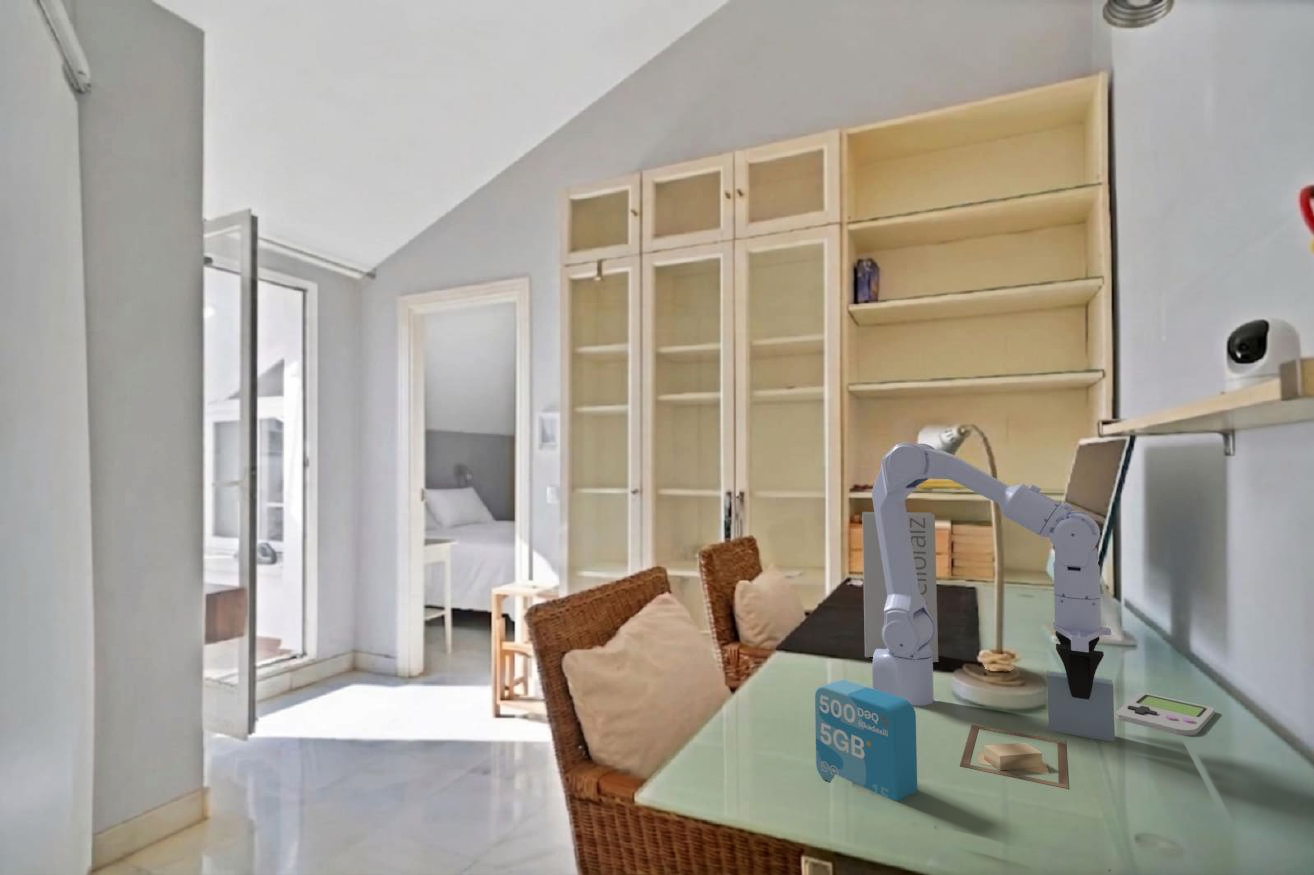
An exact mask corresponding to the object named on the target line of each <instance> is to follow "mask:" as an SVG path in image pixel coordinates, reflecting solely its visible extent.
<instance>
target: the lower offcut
mask: <svg viewBox="0 0 1314 875" xmlns="http://www.w3.org/2000/svg"><path fill="white" fill-rule="evenodd" d="M977 757H978V758H977V759H978V764H979V765H983V766H991V767H994V766H993V765H992V764H990V763H989V762H987V761H986V760H984V752H977ZM1047 766H1048V765H1047V763H1046V762H1044V761H1042V767H1038V768H1025V769H1014V770H1015V771H1023V772H1030V773H1035V774H1043V775H1048V776H1049V775H1050V772H1049V769H1048V767H1047Z"/></svg>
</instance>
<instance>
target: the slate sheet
mask: <svg viewBox="0 0 1314 875" xmlns="http://www.w3.org/2000/svg"><path fill="white" fill-rule="evenodd" d="M1046 682H1047V683H1046V684H1047V711H1048V712H1047V714H1048V716H1047V718H1048V722H1047V723H1048V731H1049V732H1054V733H1060V734H1066V735H1072V736H1078V737H1083V738H1084V737H1085V738H1089V739H1095V740H1100V741H1106V742H1112V743H1115V742H1116V737H1115V736H1116V734H1115V707H1114V706H1115V704H1114V700H1115V699H1114V684H1113V680H1112V679H1110V678H1102V677H1095V676H1094V680H1093V686H1092V691H1091V695H1090V698H1089V700H1087V699H1080V698H1074V697H1072V696H1071V693H1070V689H1069V685H1068V680H1067V675H1066V672H1065V673H1064V672H1058V671H1057V672H1055V671H1049V670H1046Z"/></svg>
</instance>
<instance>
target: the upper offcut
mask: <svg viewBox="0 0 1314 875" xmlns="http://www.w3.org/2000/svg"><path fill="white" fill-rule="evenodd" d="M983 753H984V760H986V761H987V762H989V763H990V764H992V765H993V766H992V767H994V768H995V769H996V770H998V771H1010V770H1015V769H1025V768H1038V767H1042V762H1043V753H1042V752H1041V751H1040V750H1038V749H1036V748H1035V747H1032V745H1030V744H1028V743H1026V742H1016V743H1002V744H1001V743H999V744H987V745H986V744H985V745H983Z"/></svg>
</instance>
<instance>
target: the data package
mask: <svg viewBox="0 0 1314 875" xmlns="http://www.w3.org/2000/svg"><path fill="white" fill-rule="evenodd" d="M814 707H815V708H814V711H815V712H814V714H815V715H814V719H815V721H814V722H815V723H814V724H815V726H814V730H815V765H816V766H815V767H816V770H817V772H818V775H820V777H821V778H822V779H823V780H825V781H826V780H827V782H828V783H831V782H832V781H833V779H834V777H835V776H836V775H837V776H839V777H841V778H843V779H845V780H847V781H849V782H852V783H855V784H857V785H859V786H861V787H863V788H865V789H868V790H870V791H872V792H875V793H877V794H879V795H881V796H883V797H885V798H887V799H889V800H891V801H894V802H899V801H901V800H902V799H904V798H906V797H908V796H910V795H912V794H914V793H916V792H917V791H918V757H917V717H916V716H917V714H916V710H915V708H914V706H913V705H911V703H910V702H909V701H907V700H906V699H903V698H900V697H897V696H894V695H891V694H888V693H884V692H881V691H878V690H875V689H873V687H872V688H871V687H868V686H865V685H862V684H858V683H855V682H852V681H848V680H846V679H840V680H835V681H833V682H830V683H827V684H824V685H821V686H818V688H816V690H815V693H814Z"/></svg>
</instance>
